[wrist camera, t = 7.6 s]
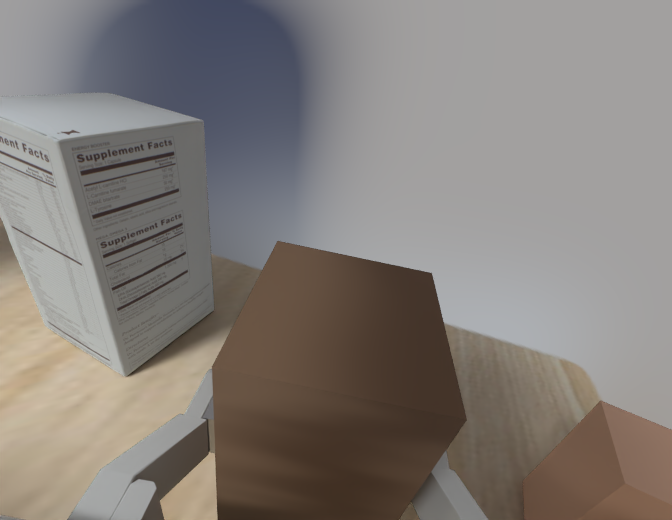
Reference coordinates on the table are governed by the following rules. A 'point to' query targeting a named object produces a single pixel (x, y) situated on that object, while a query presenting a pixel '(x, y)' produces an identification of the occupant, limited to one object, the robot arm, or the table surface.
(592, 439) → the terracotta post
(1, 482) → the table surface
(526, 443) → the table surface
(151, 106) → the supplement box
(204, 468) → the table surface
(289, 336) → the walnut post
